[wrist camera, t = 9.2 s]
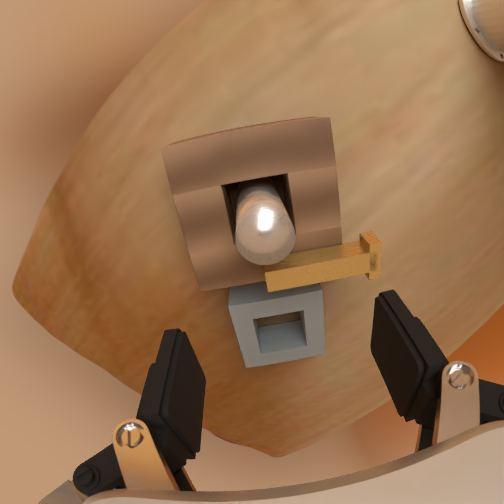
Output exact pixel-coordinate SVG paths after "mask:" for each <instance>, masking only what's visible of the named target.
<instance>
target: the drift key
mask: <svg viewBox="0 0 504 504" xmlns="http://www.w3.org/2000/svg"><path fill="white" fill-rule="evenodd" d="M381 260H382V242H381V241H380V240H379V239H378V238H377V237H376V236H375V235H374V234H373V233H372V232H371V231H370V232H365V233H360V241H358V242H352V243H347V244H342V245H336V246H331V247H325V248H320V249H314V250H309V251H303V252H298V253H292V254H289V255H288V256H287V257H286V258H284V259H283V260H281V261H280V262H278V263H275V264H271V265H264V272H265V278H266V283H267V289H268V292H272V291H278V290H284V289H289V288H294V287H300V286H305V285H310V284H316V283H321V282H326V281H331V280H336V279H341V278H346V277H351V276H355V275H360V274H365V275H366V276H367V278H368V279H369V280H371V279H376V278H380V277H381Z"/></svg>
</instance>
